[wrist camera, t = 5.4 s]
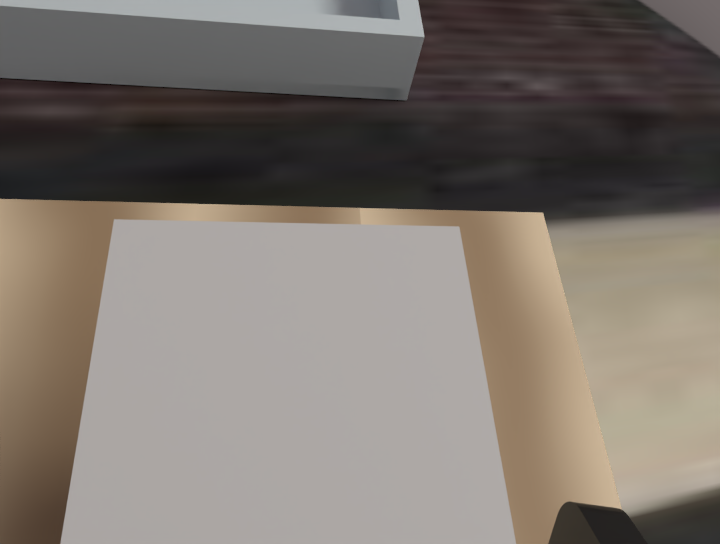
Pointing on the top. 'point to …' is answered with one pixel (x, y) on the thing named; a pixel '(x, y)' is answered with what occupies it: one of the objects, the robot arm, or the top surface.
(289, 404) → the block
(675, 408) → the top surface
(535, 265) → the wooden board with hole
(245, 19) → the parts tray
